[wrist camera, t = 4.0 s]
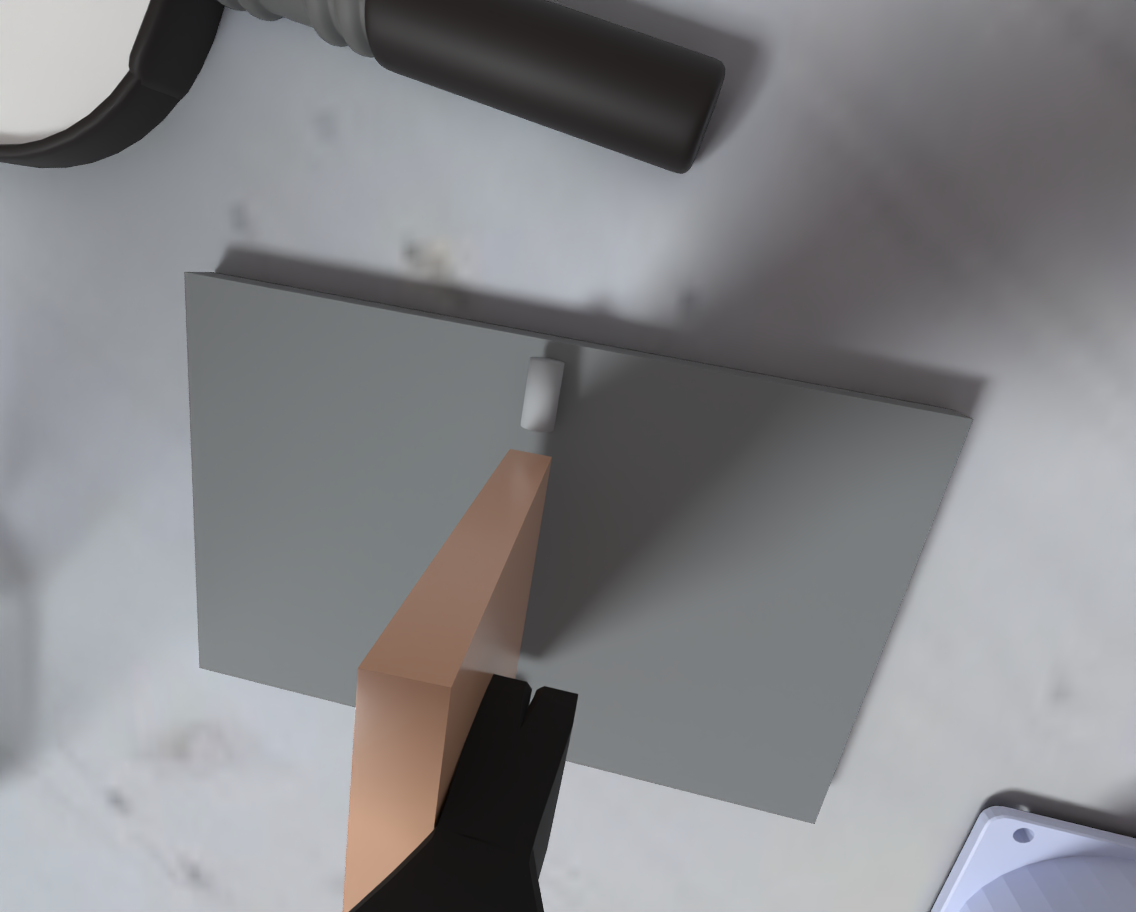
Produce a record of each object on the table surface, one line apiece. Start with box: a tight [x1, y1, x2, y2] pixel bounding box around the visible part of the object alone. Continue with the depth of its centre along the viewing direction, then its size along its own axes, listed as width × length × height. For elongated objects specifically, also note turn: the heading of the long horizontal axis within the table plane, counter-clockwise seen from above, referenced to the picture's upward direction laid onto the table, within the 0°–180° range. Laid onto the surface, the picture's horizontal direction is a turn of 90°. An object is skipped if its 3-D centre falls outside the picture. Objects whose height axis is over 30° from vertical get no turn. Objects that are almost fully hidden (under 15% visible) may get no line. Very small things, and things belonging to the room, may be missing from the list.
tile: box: [343, 449, 552, 912], centre depth 11 cm, size 8×7×1 cm
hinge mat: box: [184, 272, 973, 824], centre depth 16 cm, size 19×12×2 cm, turn 80°
